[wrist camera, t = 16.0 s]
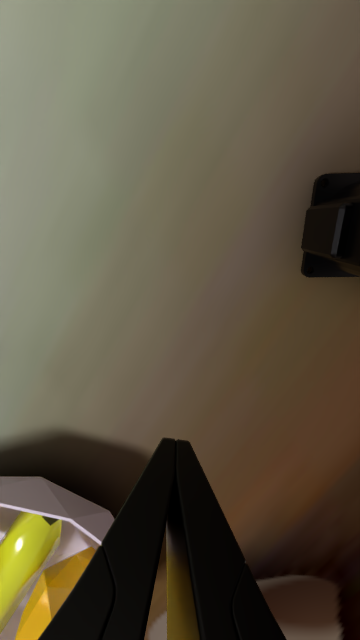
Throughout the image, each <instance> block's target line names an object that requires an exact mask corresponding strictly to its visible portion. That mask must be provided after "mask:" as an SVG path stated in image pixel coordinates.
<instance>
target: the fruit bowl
mask: <svg viewBox="0 0 360 640" xmlns="http://www.w3.org/2000/svg"><path fill="white" fill-rule="evenodd" d="M114 520H115V519H114V517H113V516H112V514H111V512H110V511H108V510H106V509H104V508H102V507H100V506H98V505H96V504H94V503H92V502H90V501H88V500H86V499H84V498H82V497H80V496H78V495H76V494H74V493H72V492H70V491H68V490H66V489H64V488H62V487H60V486H58V485H56V484H54V483H52V482H50V481H48V480H46V479H44V478H42V477H0V640H38V638H39V637H40V636H41V634H42V633H43V631H44V630H45V629H46V627H47V626H48V624H49V623H50V622H51V620H52V619H53V617H54V616H55V614H56V613H57V611H58V610H59V609H60V607H61V606H62V604H63V603H64V601H65V600H66V598H67V597H68V595H69V594H70V592H71V591H72V590H73V588H74V586H75V585H76V583H77V581H78V580H79V578H80V577H81V575H82V573H83V572H84V570H85V569H86V567H87V565H88V564H89V562H90V560H91V559H92V557H93V555H94V554H95V552H96V550H97V549H98V547H99V546H101V542H102V540H103V539H104V537H105V535H106V534H107V532H108V530H109V528H110V527H111V525H112V523H113V522H114Z"/></svg>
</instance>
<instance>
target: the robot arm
mask: <svg viewBox="0 0 360 640" xmlns="http://www.w3.org/2000/svg"><path fill="white" fill-rule="evenodd" d="M322 180H325V181H326V184H325V186H324V187H322V186H321V181H322ZM301 248H302V249H303V251H304V253H303V260H302V267H301V273H302V274H303V275H304V276H306V277H360V173H345V174H324V175H321V176H319V177H318V178H317V179H316V180H315V182H314V186H313V193H312V200H311V206H310V208H309V209H308V210H307V212H306V218H305V225H304V232H303V239H302V246H301ZM309 267H312V270H311V271H310V272H309V273H307V269H308V268H309ZM165 527H166V561H167V640H286V638H285V636H284V634H283V633H282V631H281V629H280V627H279V625H278V623H277V622H276V620H275V618H274V616H273V614H272V613H271V611H270V609H269V607H268V605H267V603H266V601H265V599H264V597H263V595H262V593H261V591H260V589H259V587H258V585H257V583H256V581H255V578H254V576H253V574H252V572H251V570H250V568H249V566H248V564H247V563H246V564H245V562H246V560H245V558H244V556H243V553H242V551H241V549H240V547H239V545H238V543H237V541H236V539H235V537H234V534H233V532H232V530H231V528H230V526H229V524H228V522H227V520H226V518H225V516H224V513H223V511H222V509H221V507H220V505H219V503H218V501H217V499H216V497H215V494H214V492H213V490H212V488H211V486H210V484H209V482H208V480H207V478H206V476H205V473H204V471H203V469H202V467H201V465H200V463H199V461H198V459H197V457H196V454H195V452H194V450H193V448H192V446H191V444H190V442H189V441H186V440H179V439H178V440H176V441H175V439H171V438H163V439H162V440H161V441H160V443H159V445H158V447H157V448H156V450H155V452H154V453H153V455H152V457H151V458H150V460H149V462H148V464H147V465H146V467H145V469H144V470H143V472H142V474H141V476H140V477H139V479H138V481H137V482H136V484H135V486H134V487H133V489H132V491H131V493H130V494H129V496H128V498H127V499H126V501H125V503H124V505H123V506H122V508H121V510H120V511H119V513H118V515H117V516H116V518H115V520H114V522H113V523H112V525H111V527H110V528H109V530H108V532H107V534H106V535H105V537H104V539H103V540H102V542H101V546H99V547H98V549H97V550H96V552H95V554H94V555H93V557H92V559H91V560H90V562H89V564H88V565H87V567H86V569H85V570H84V572H83V573H82V575H81V577H80V578H79V580H78V581H77V583H76V585H75V586H74V588H73V590H72V591H71V592H70V594H69V595H68V597H67V598H66V600H65V601H64V603H63V604H62V606H61V607H60V609H59V610H58V611H57V613H56V614H55V616H54V617H53V619H52V620H51V622H50V623H49V624H48V626H47V627H46V629H45V630H44V631H43V633H42V634H41V636H40V637H39V638H38V640H144V637H145V631H146V626H147V621H148V616H149V610H150V605H151V600H152V595H153V590H154V584H155V579H156V574H157V569H158V563H159V558H160V553H161V548H162V543H163V537H164V532H165Z"/></svg>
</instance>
